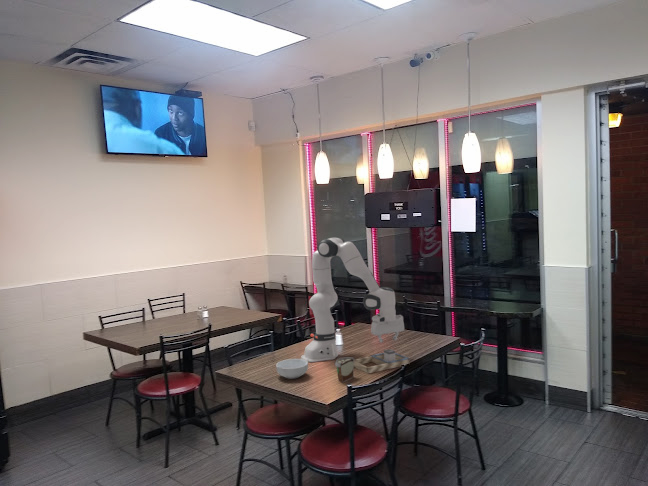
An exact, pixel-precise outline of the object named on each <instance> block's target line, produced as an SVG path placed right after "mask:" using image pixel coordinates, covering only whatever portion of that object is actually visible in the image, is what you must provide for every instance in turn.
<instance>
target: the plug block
mask: <svg viewBox="0 0 648 486" xmlns="http://www.w3.org/2000/svg"><path fill="white" fill-rule="evenodd" d="M383 353H384V359H383V360H386V361H388V362H390V361H394V360H395V353H396V350H394V349H390V348H389V349H388V348H387V349H383Z"/></svg>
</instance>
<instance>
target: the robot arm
mask: <svg viewBox="0 0 648 486" xmlns="http://www.w3.org/2000/svg"><path fill="white" fill-rule="evenodd" d="M316 248H317V249H316V250H315V251H314V252H313V253H312V259H311V272H312V281H313V284H314V285H315V287H316V292H317V293H315V294H313V295H312V296H311V297H310V299H309V300H308V307H309V308H310V309H311V311H312V314H313V317H314V321H315V334H314V333H311V334H310V337H311V338H313V339H312V340H311V341H310V343H308V344H307V345H306V346H305V348H304V352H303V354H302V355H300V359H303V360H306V361H307V362H308V363H315V362H322V361H323V362H324V361H330V360H336V358H337V357H338V356H339V353H338V350H337V345H336V331H335V319H334V318H333V316H332V312H331V308H332V307H334V306H335V304H336V303H337V302H338V298H339V297H338V294H337V293H336V291H335V288H334V284H333V281H332V267H331V260H332V258H335V257H339V258H340V259H341V261H342V263H343V266H344V267H345V269H346V270H347V272H348V273H349V274H350V275H352V276H355V277H358V278H360V279H361V280H362V281H363V282H364V284H365V285H366V287H367V289H368V291H369V293H367V294H366V295H364V296H363V299H362V304H363V307H365V309H366V310H368V311H375V310H379V312H378V313H376V314H374V315H373V316H372V317H371V320H372V321H371V325H370V330H371V332H370V333H371V334H372V336H377V338H378V342H379V343H383V342H384V338H382V335H387V334H394V335H393V337H392V340H393V341H397V340H398V336H399V334H400V332H404V331H405V323H404V316H403V315H402V314H396V293H395V290H394V289H392V288H391V287H386V286H382V287H381V286H380V285H379V283H378V282H377V280H376V278H375V277H374V275H373V273H372V271H371V270H370V269H369V267H368V266H367V264H366V261H364V259H363V257H362V254H361V253H360V251H359V250H358V248H357V246H356V245H355V244H354V242H352V241H345V240H344V239H343V238H341V237H338V236H337V237H330V238H325V239H323V240H320V242H319V243H318V244H317V247H316Z"/></svg>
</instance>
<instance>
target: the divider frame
mask: <svg viewBox="0 0 648 486" xmlns="http://www.w3.org/2000/svg"><path fill="white" fill-rule="evenodd" d="M368 363H369V364H370V363H374V364H376V365H371V366H366V365H364V364H368ZM407 363H409V364H410V357H408V356H405V355H403V354H399V353H397V352H395V360H394V361H390V362H388V361H386V360H384V352H380V353H376V354H370V356H366V357H360V358H354V368H356V369H357V370H359V371H362V372H363V373H365V374H372V373H378V372H382V371H385V370H390V369H395V368H400V367H402V366H401V365H403V364H407Z"/></svg>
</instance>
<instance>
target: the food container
mask: <svg viewBox="0 0 648 486" xmlns="http://www.w3.org/2000/svg"><path fill="white" fill-rule="evenodd" d="M335 360H336V361H335V363H334V365H335V367H336V371H337V378H338V379H337V380H338V382H339V383H345V382H347V381H348V380H351V379H353V378H354V372H355V371H354V370H355V369H354V368H355V367H354V360H355V357H353V356H352V357H350V356H349V357H347V356H346V357H339V358H337V359H335Z"/></svg>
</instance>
